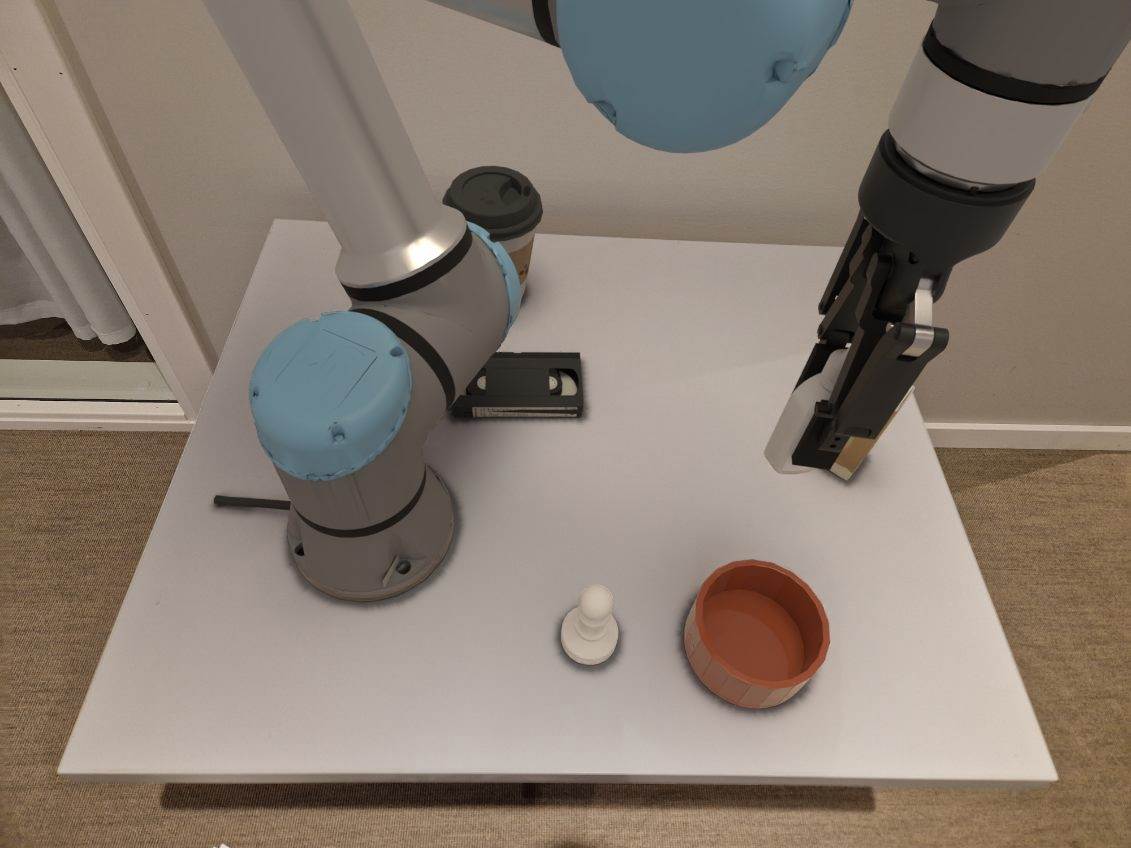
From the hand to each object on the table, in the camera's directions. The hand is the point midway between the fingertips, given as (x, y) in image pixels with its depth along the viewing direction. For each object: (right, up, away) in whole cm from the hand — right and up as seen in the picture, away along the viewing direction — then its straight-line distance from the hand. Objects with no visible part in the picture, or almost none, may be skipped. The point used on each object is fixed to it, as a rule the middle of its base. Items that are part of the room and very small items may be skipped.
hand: (808, 434), depth 54 cm
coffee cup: (-27, +17, +38) cm, 49 cm away
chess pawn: (-16, -18, +11) cm, 27 cm away
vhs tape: (-23, +5, +28) cm, 37 cm away
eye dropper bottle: (0, -2, +2) cm, 3 cm away
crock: (-2, -19, +11) cm, 22 cm away
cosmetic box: (+11, -3, +25) cm, 27 cm away
